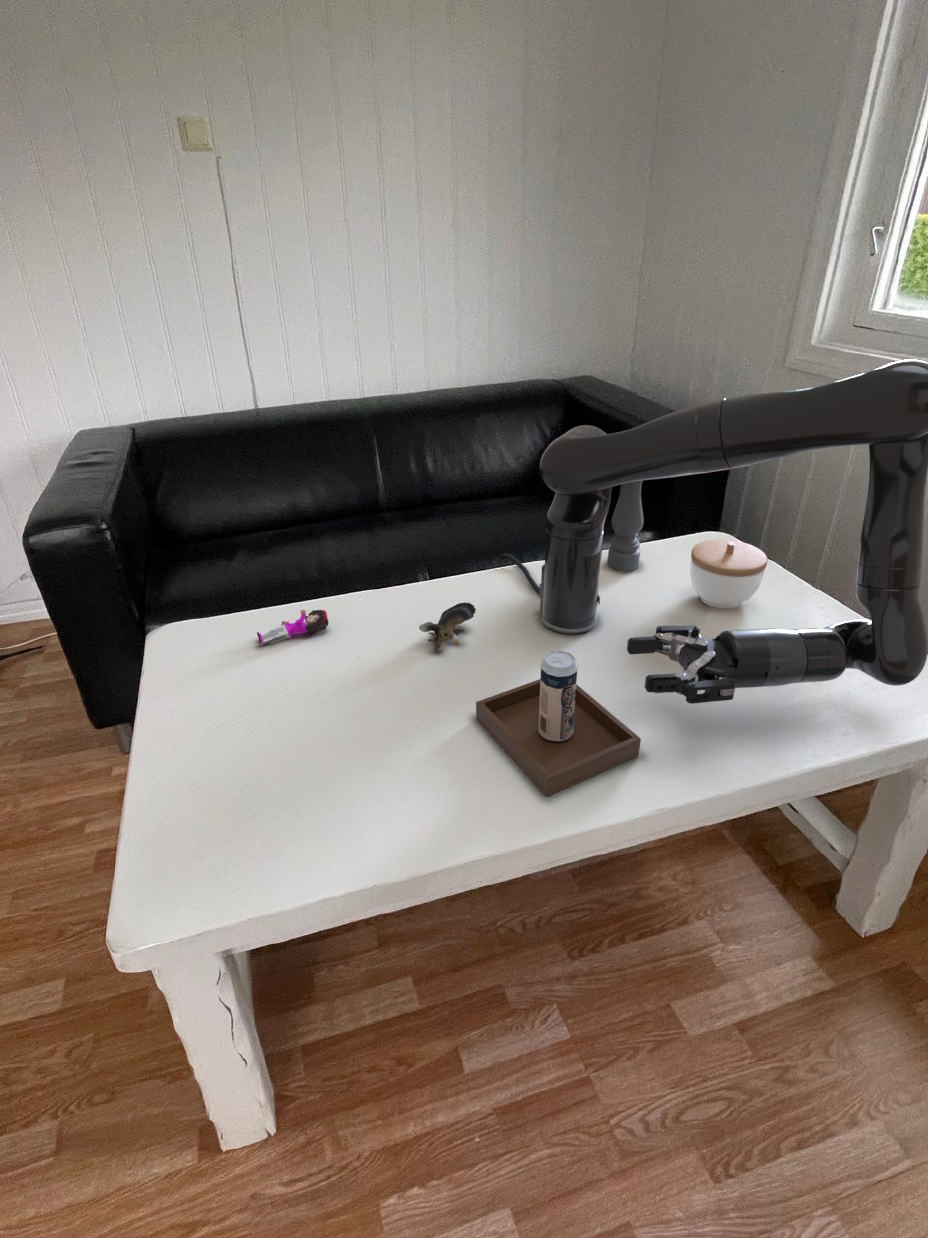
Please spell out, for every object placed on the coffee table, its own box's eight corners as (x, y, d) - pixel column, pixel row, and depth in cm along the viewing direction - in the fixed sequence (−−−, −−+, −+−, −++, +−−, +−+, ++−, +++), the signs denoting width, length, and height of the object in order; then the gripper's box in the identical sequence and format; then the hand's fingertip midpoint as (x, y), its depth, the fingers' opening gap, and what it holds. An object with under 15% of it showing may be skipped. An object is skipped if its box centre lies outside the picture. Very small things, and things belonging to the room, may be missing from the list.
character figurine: (264, 656, 116) (334, 633, 119) (255, 631, 113) (326, 607, 116) (259, 640, 120) (326, 618, 123) (250, 615, 118) (319, 593, 121)
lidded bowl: (753, 586, 131) (764, 531, 125) (761, 620, 120) (775, 562, 114) (683, 580, 133) (691, 526, 128) (685, 613, 123) (695, 556, 117)
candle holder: (641, 561, 141) (656, 438, 128) (634, 574, 136) (649, 448, 123) (611, 556, 143) (623, 435, 130) (603, 568, 138) (614, 444, 125)
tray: (475, 718, 99) (475, 701, 97) (560, 687, 105) (561, 671, 103) (546, 797, 86) (547, 779, 84) (638, 756, 91) (641, 738, 90)
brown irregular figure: (466, 653, 111) (486, 618, 117) (439, 621, 109) (461, 586, 115) (433, 664, 116) (454, 629, 122) (407, 633, 114) (429, 599, 120)
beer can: (572, 746, 92) (577, 671, 86) (536, 741, 93) (539, 668, 87) (574, 723, 96) (579, 650, 90) (539, 719, 97) (543, 647, 91)
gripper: (742, 605, 95) (624, 611, 94) (791, 665, 83) (656, 672, 82) (732, 651, 99) (619, 657, 98) (777, 715, 86) (649, 722, 86)
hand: (636, 664), depth 90 cm, fingers open, 8 cm apart
